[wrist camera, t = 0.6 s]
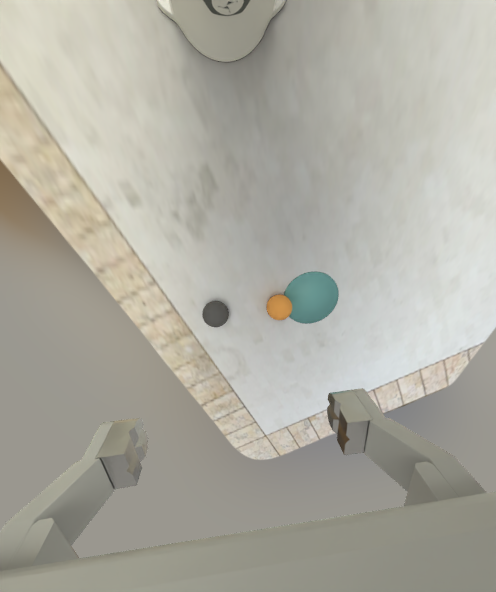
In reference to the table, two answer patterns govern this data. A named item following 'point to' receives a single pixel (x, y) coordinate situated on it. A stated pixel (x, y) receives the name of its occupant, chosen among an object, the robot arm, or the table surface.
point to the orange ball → (279, 307)
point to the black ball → (215, 314)
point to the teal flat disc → (312, 297)
